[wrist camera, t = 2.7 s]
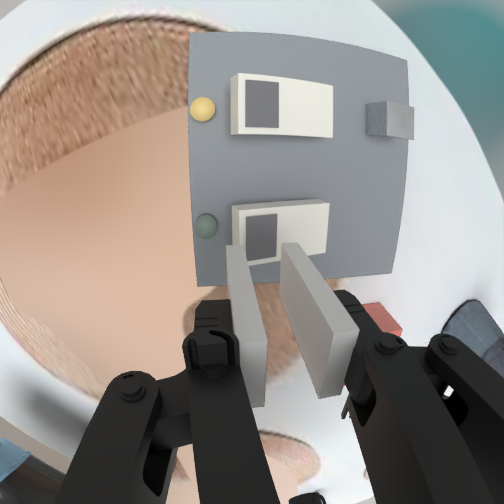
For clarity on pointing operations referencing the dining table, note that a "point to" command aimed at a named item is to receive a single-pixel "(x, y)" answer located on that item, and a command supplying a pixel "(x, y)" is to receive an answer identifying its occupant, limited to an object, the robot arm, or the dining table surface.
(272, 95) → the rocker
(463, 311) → the moka pot
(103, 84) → the dining table surface
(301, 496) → the mug
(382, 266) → the panel
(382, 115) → the post
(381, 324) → the cap
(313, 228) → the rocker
